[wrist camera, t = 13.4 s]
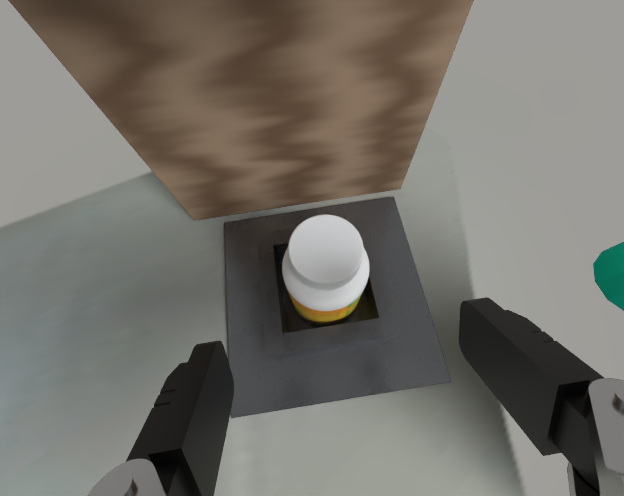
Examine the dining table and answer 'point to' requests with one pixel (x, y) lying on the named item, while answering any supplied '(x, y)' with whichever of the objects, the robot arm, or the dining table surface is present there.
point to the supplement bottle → (325, 269)
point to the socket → (332, 339)
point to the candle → (611, 274)
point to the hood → (259, 90)
